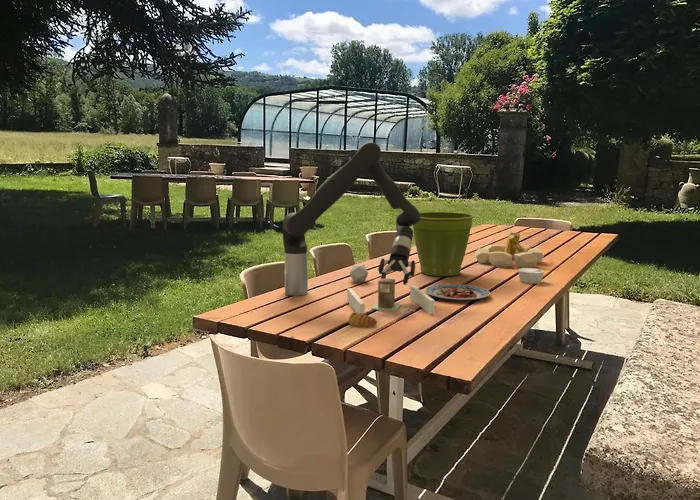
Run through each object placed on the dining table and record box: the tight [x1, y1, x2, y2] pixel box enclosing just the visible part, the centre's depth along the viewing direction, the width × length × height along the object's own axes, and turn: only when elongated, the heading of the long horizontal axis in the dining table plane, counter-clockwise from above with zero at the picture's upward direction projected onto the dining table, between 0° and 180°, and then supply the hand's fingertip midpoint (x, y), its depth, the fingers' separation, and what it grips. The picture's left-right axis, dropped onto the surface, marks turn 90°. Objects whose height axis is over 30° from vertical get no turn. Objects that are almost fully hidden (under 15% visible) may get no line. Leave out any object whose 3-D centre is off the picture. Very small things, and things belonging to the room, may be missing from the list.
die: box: [349, 264, 369, 283], centre depth 247 cm, size 8×9×10 cm
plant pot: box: [412, 211, 474, 277], centre depth 264 cm, size 30×30×29 cm
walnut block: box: [377, 278, 396, 308], centre depth 203 cm, size 5×5×10 cm
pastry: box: [348, 311, 378, 329], centre depth 182 cm, size 9×7×4 cm
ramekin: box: [517, 267, 545, 285], centre depth 248 cm, size 11×11×5 cm
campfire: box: [474, 232, 545, 269], centre depth 294 cm, size 35×34×17 cm
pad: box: [371, 302, 402, 312], centre depth 204 cm, size 9×9×1 cm
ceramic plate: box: [425, 283, 491, 302], centre depth 221 cm, size 26×26×3 cm
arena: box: [346, 285, 436, 315], centre depth 204 cm, size 27×24×5 cm
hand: (393, 283), depth 212 cm, fingers open, 8 cm apart
